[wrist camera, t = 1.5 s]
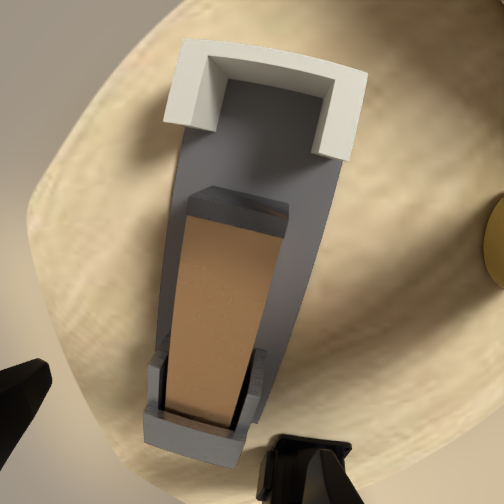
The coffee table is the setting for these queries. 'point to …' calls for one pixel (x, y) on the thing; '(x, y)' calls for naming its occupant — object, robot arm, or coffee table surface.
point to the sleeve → (193, 432)
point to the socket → (272, 74)
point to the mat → (264, 185)
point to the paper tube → (495, 244)
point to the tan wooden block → (220, 299)
